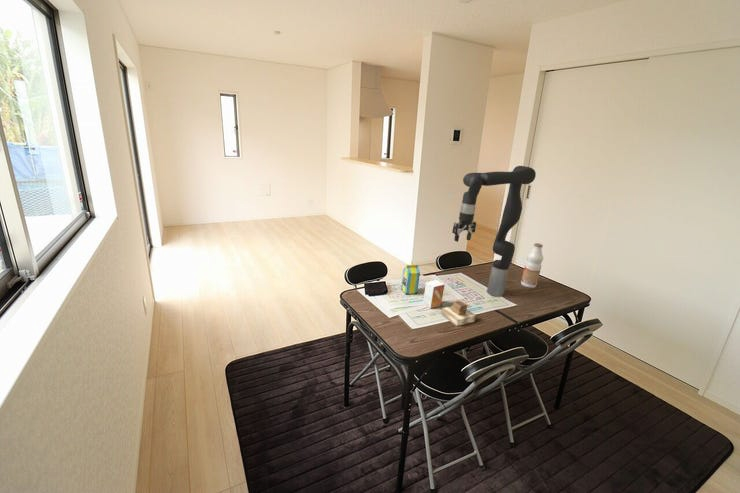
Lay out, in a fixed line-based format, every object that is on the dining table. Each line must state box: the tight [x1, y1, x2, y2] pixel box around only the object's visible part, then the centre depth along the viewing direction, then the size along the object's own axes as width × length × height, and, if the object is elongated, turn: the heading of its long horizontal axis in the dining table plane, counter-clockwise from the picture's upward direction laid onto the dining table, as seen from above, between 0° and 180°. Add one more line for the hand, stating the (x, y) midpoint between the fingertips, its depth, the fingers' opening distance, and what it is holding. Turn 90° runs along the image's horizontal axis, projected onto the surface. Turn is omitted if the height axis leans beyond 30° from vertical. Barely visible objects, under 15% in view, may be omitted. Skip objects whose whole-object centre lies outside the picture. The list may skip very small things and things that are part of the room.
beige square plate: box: [440, 305, 477, 327], centre depth 178 cm, size 12×12×4 cm
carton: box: [400, 260, 421, 296], centre depth 200 cm, size 7×8×18 cm
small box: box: [422, 279, 445, 309], centre depth 188 cm, size 8×6×13 cm
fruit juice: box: [520, 242, 544, 289], centre depth 221 cm, size 9×9×28 cm
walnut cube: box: [451, 299, 468, 315], centre depth 177 cm, size 5×5×5 cm
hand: (462, 240), depth 191 cm, fingers open, 8 cm apart
